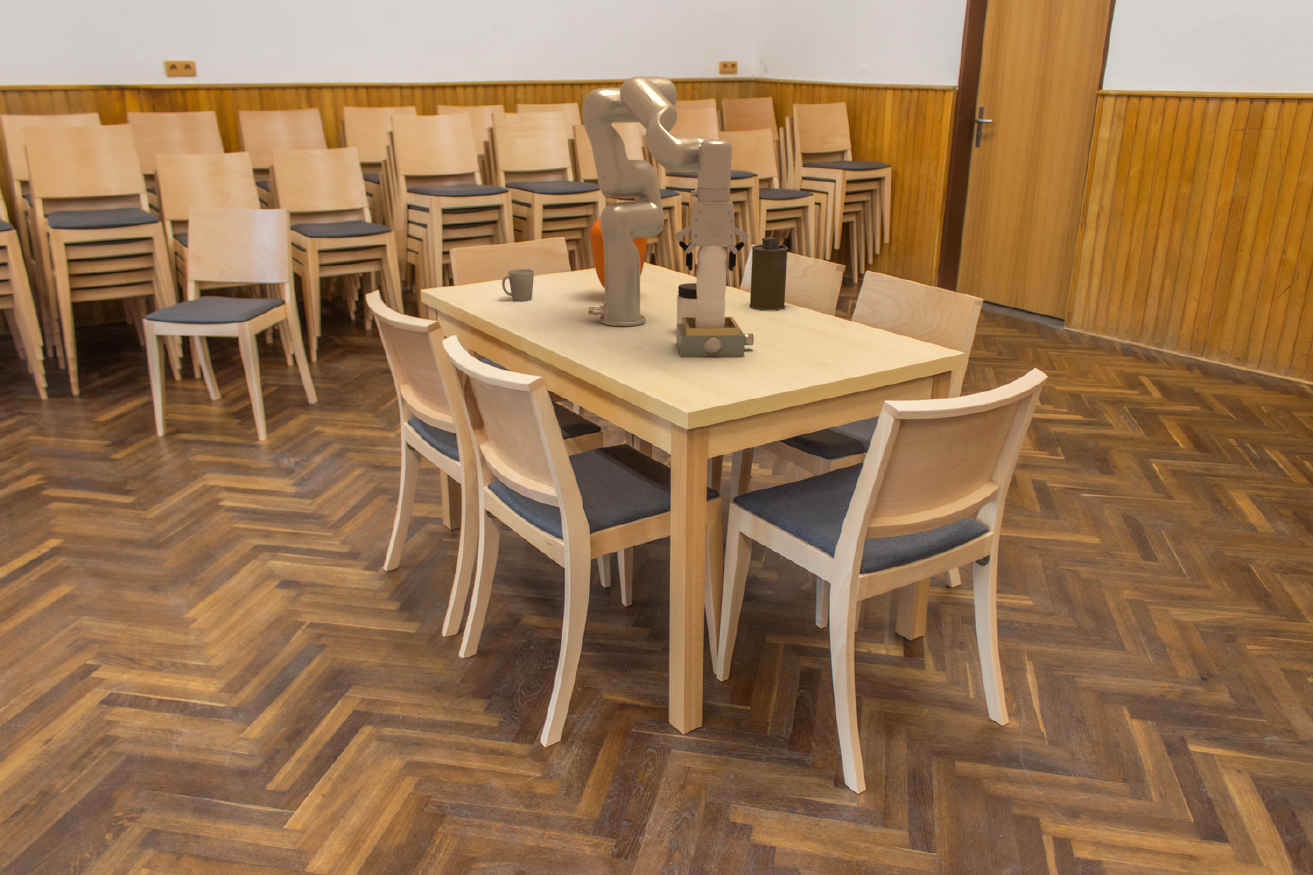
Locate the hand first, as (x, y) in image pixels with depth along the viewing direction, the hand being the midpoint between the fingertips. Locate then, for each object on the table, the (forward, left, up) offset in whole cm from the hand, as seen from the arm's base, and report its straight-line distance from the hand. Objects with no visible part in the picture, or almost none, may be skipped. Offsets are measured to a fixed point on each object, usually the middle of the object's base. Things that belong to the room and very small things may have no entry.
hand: (710, 269), depth 229 cm
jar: (-2, +19, -20) cm, 27 cm away
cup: (-50, +61, -20) cm, 81 cm away
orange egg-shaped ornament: (-20, +62, -20) cm, 68 cm away
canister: (+23, +49, -20) cm, 57 cm away
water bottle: (0, 0, -14) cm, 14 cm away
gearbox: (+2, -1, -19) cm, 20 cm away
